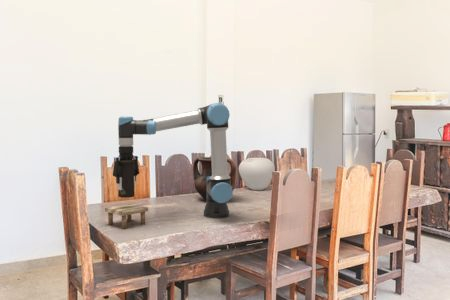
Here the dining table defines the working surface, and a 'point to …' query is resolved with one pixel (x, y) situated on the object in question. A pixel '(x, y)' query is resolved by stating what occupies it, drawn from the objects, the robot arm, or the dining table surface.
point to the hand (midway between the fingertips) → (126, 188)
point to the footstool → (126, 213)
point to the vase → (256, 172)
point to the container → (127, 178)
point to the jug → (209, 174)
